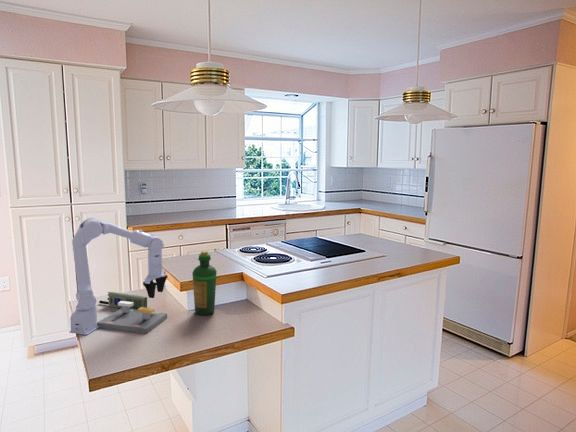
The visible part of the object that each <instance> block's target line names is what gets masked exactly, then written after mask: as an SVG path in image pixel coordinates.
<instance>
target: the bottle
mask: <svg viewBox="0 0 576 432" xmlns="http://www.w3.org/2000/svg"><path fill="white" fill-rule="evenodd" d="M197 260H198V262H199V265H197V266H196V267H195V268H194V269H193V271H192V288H193V303H194V312H195V314H197V315H199V316H208V315H213V313H215V308H216V307H215V306H216V304H215V303H216V287H217V273H218V272H217V270H216V268H215V267H214V266H212V265H210V261H211V260H212V259H211V254H210V253H209V251H208V250H201V251H200V253H199V254H198V259H197Z"/></svg>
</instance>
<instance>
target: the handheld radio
mask: <svg viewBox="0 0 576 432" xmlns="http://www.w3.org/2000/svg"><path fill="white" fill-rule="evenodd" d="M107 296H108V297H107V300H99V301H98V303H99V304H103V305H107V306H108V305H109V306H108V307H110V308H115V309H121V308H122V306H118V302H120V301H127V302H134V305H133V306H131V307H130V309H133V310H138V309H139V308H140V307H146V308H148V296H142V295H135V294H129V293H122V292H115V291H107Z"/></svg>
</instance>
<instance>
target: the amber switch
mask: <svg viewBox="0 0 576 432" xmlns="http://www.w3.org/2000/svg"><path fill="white" fill-rule="evenodd" d="M138 312H142V319H146V320H148V319H149V318H150V313H152V312H155V308H153V307H147V308H146V307H140V308H139V309H138Z"/></svg>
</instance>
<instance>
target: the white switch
mask: <svg viewBox="0 0 576 432" xmlns="http://www.w3.org/2000/svg"><path fill="white" fill-rule="evenodd" d="M133 305H134V302H127V301H120V302H118V306H122V312H123V313H128V312H130V307H131V306H133Z"/></svg>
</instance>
